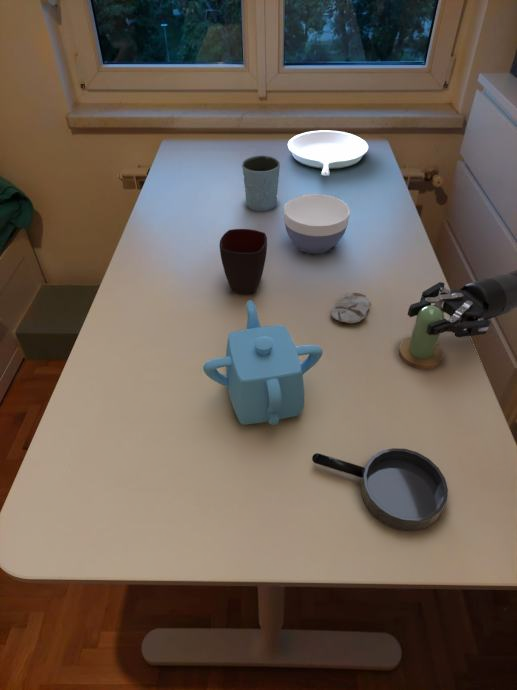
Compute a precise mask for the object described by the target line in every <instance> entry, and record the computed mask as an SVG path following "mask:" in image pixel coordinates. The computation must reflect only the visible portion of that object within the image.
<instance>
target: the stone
mask: <svg viewBox="0 0 517 690" xmlns="http://www.w3.org/2000/svg"><path fill="white" fill-rule="evenodd" d="M371 306H372V302H371V300H370V299H369V298H368V297H367V295H365V294H363V293H361V292H360V293H359V292H351V293H347V294H343V295H341V296H340V297H339V299H338V302H337V303H336V304H335V306H333V307H332V308H331V310H330V315H331V317H332V318H333V319H334V320H335V321H336V320H337V321H338V322H340V323H342V322H344V323H347V324H354V323H355V324H357V323H359V322H362V320H364V319H366V318H367V316H368V313H367V312H368V310H369V309H370V307H371Z"/></svg>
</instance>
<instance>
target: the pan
mask: <svg viewBox="0 0 517 690" xmlns="http://www.w3.org/2000/svg"><path fill="white" fill-rule="evenodd" d="M287 148H288V150H289V152H291V155H292V157H293V158H294V159H295V160H296V161H297V162H298V163H300V164H302V165H305V166H308V167H312V168H315V169H321V170H322V171H321V176H323V177H328V176H330V173H331V172H330V170H338V169H344V168H348V167H351V166H354V165H356V164H357V163H358V162H360V161H361V160H362V159H363V156H365V154H367V153H368V151H369V145H368V142H366V140H365V139H363V138H361V137H359V136H357V135H355V134H353V133H350V132H349V133H348V132H345V131H338V130H326V129H325V130H323V129H322V130H321V129H320V130H311V131H306V132H302V133H299V134H296V135H294V136H293V137H292V138H290V139H289V140H288V142H287Z"/></svg>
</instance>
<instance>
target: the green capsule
mask: <svg viewBox="0 0 517 690" xmlns="http://www.w3.org/2000/svg"><path fill="white" fill-rule="evenodd" d="M443 319H445V313H443V312H442V310H441V309H440V308H438V307H436V306H432V304H431V305H429V306H425V307H423V308H422V309H421V310H420V311H419V312H418V314H417V315H416V316H415V322H414V325H413V329H412V332H411V336H410V338H411V340H410V343H409V347H408V350H409V352H410V353H411V354H412V355H413V356H415V357H417V358H420V359H427V358H430V357H432V356H433V354H434V351H435V348H436V345H438V342H439V339H440V335H441V333H440V334H438V335H433V334H432V335H428V334H427V333H426V331H427V328H428V325H429V324H431V323H434V322H437V321H440V320H443Z"/></svg>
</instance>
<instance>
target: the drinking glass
mask: <svg viewBox="0 0 517 690" xmlns="http://www.w3.org/2000/svg"><path fill="white" fill-rule="evenodd" d="M280 166H281V162H280V160H279V159H277V158H276V157H273V156H270V155H254V156H253V155H252V156H250V157H247V158H245V159H244V160H243V161H242V163H241V167H242V174H243V182H244V184H243V185H244V193H245V202H246V207H248V209H249V210H253V211H255V212H267V211H270V210H273V209H274V208H275V207H277V203H278V197H277V196H278V191H279V190H278V188H279V177H280V168H281V167H280Z"/></svg>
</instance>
